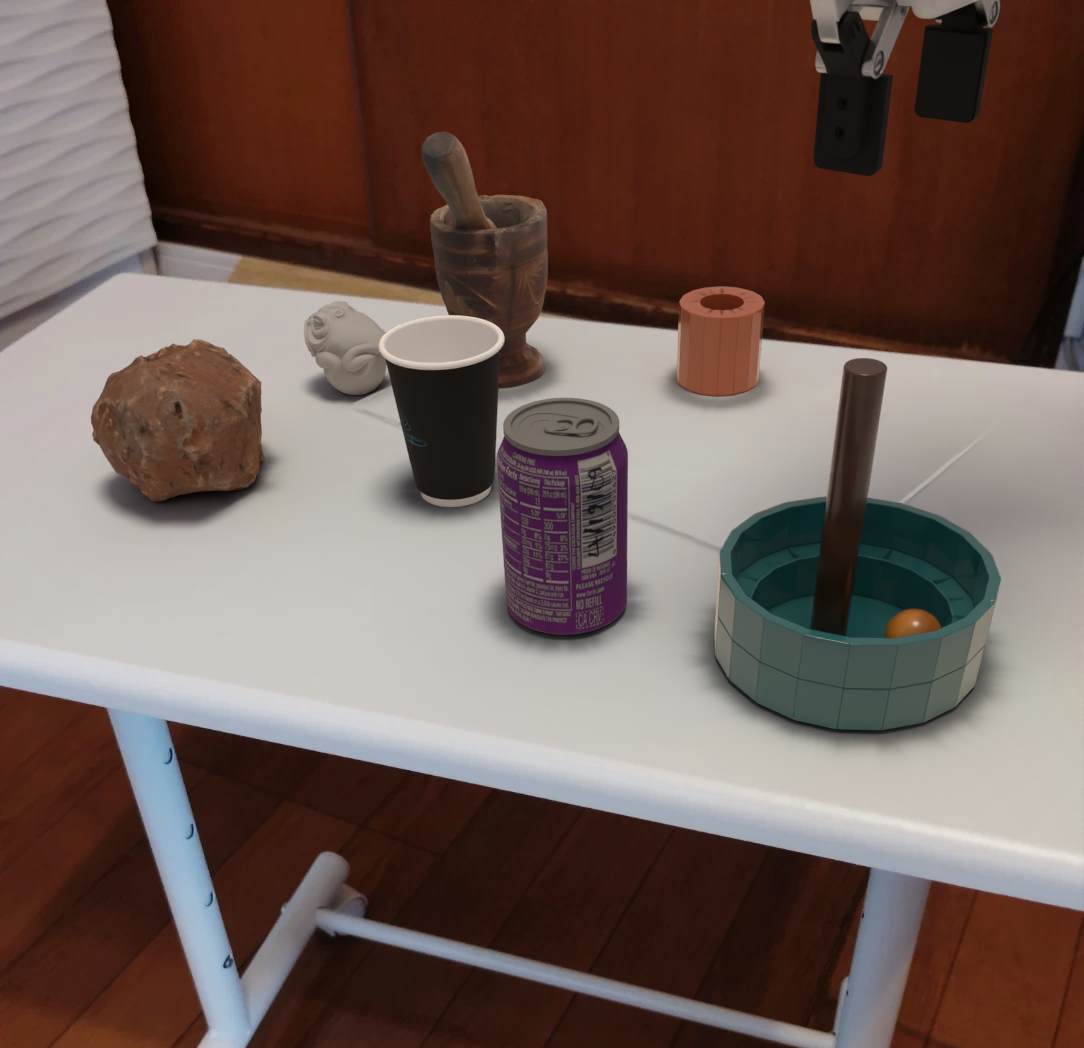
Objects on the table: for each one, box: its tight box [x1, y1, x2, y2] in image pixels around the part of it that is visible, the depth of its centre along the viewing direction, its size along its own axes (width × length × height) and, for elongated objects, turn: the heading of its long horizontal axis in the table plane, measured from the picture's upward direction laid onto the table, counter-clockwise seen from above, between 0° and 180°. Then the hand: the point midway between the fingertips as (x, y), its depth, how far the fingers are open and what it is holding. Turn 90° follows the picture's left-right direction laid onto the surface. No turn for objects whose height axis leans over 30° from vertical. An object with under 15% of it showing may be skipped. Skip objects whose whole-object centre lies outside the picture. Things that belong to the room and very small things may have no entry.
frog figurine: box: [303, 300, 387, 396], centre depth 93 cm, size 6×7×7 cm
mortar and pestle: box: [421, 131, 549, 390], centre depth 88 cm, size 12×9×20 cm
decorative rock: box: [90, 338, 265, 502], centre depth 81 cm, size 13×11×10 cm
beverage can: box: [496, 397, 629, 635], centre depth 66 cm, size 7×7×12 cm
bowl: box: [713, 496, 1002, 731], centre depth 64 cm, size 14×14×6 cm
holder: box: [676, 285, 766, 397], centre depth 90 cm, size 6×6×7 cm
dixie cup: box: [379, 314, 505, 508], centre depth 78 cm, size 8×8×11 cm
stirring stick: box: [810, 357, 888, 636], centre depth 61 cm, size 2×2×16 cm
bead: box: [884, 609, 941, 638], centre depth 63 cm, size 3×3×3 cm
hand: (898, 143), depth 56 cm, fingers open, 9 cm apart
